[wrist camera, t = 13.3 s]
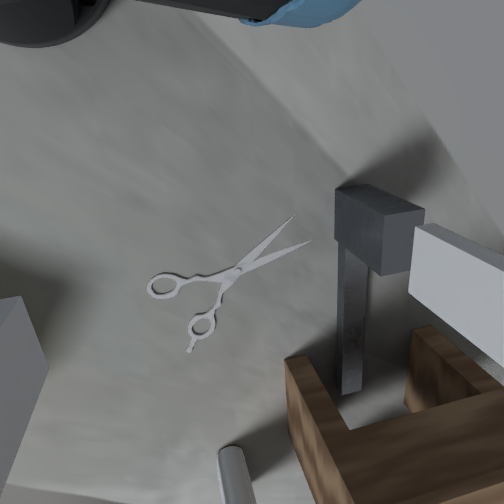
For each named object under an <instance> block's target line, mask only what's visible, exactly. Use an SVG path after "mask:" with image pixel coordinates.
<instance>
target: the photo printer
mask: <svg viewBox="0 0 504 504" xmlns="http://www.w3.org/2000/svg"><path fill="white" fill-rule="evenodd" d="M217 472H218V479H219V485H220V491H221V497H222V503H223V504H256V500H255V496H254V492H253V488H252V483H251V479H250V475H249V471H248V468H247V464H246V460H245V456H244V454H243V451H242V449H241V447H239V448H238V447H237V446H229V447H226V448H223V449H222V450H221V451H220V452H219V453H218V454H217Z"/></svg>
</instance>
